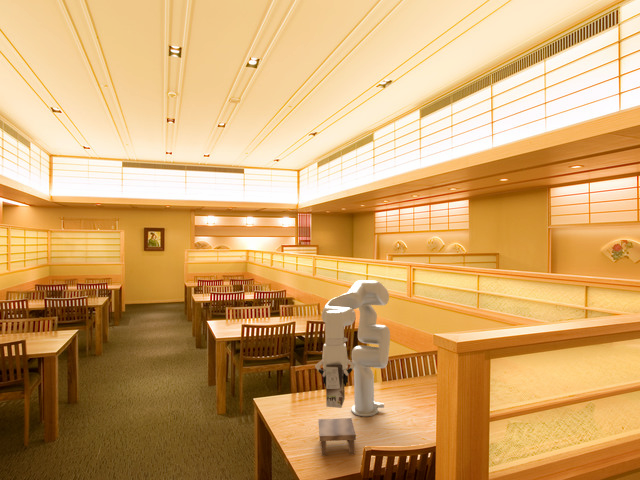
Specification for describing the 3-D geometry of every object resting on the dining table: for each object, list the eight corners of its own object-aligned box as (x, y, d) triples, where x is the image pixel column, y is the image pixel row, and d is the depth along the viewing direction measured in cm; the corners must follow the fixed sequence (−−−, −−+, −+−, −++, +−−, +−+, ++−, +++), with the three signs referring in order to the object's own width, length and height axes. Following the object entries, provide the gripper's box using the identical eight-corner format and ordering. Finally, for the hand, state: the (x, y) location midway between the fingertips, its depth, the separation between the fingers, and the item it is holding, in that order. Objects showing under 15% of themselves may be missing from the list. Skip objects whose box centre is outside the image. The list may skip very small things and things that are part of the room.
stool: (351, 436, 166) (351, 418, 166) (356, 455, 152) (355, 434, 152) (318, 438, 166) (318, 419, 165) (320, 456, 152) (319, 436, 151)
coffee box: (342, 408, 153) (341, 367, 153) (325, 407, 155) (325, 366, 155) (345, 398, 162) (344, 359, 162) (330, 397, 164) (329, 359, 164)
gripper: (354, 338, 162) (355, 380, 163) (313, 339, 162) (313, 382, 162) (357, 343, 155) (358, 387, 155) (313, 344, 154) (314, 389, 154)
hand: (335, 384), depth 159 cm, fingers closed on coffee box, 7 cm apart
